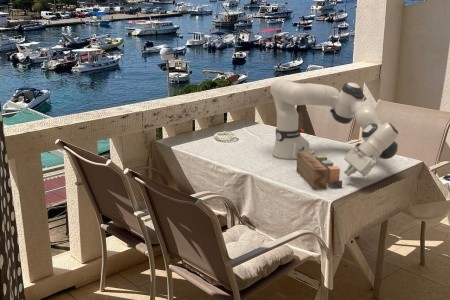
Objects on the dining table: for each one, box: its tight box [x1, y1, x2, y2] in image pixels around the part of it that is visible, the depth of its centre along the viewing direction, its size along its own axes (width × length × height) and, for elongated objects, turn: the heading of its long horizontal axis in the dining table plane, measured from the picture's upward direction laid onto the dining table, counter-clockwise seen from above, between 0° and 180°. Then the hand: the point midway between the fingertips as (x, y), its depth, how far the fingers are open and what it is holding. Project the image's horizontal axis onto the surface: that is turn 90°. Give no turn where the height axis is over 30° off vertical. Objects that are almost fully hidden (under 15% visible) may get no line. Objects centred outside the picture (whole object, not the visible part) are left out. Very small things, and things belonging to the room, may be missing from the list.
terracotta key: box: [327, 165, 341, 186], centre depth 259 cm, size 4×4×8 cm
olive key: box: [314, 154, 328, 163], centre depth 275 cm, size 4×4×8 cm
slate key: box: [321, 159, 334, 168], centre depth 267 cm, size 4×4×8 cm
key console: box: [295, 152, 343, 190], centre depth 266 cm, size 13×26×9 cm, turn 10°
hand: (346, 174), depth 260 cm, fingers closed
